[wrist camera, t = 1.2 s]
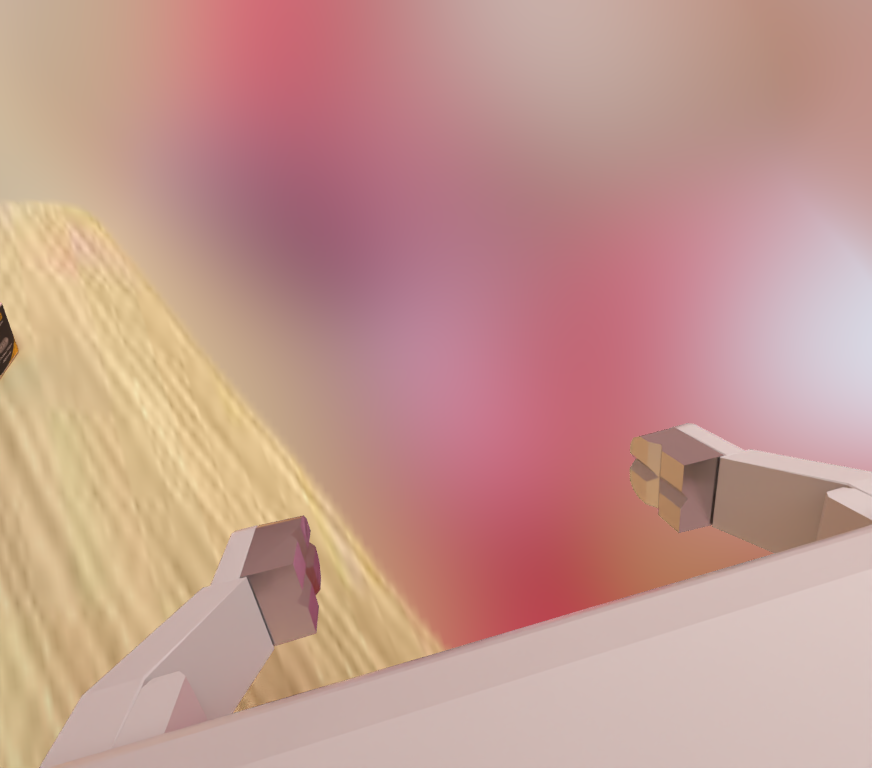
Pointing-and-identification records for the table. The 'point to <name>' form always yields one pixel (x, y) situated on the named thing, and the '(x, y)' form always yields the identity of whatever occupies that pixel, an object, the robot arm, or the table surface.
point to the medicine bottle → (6, 342)
